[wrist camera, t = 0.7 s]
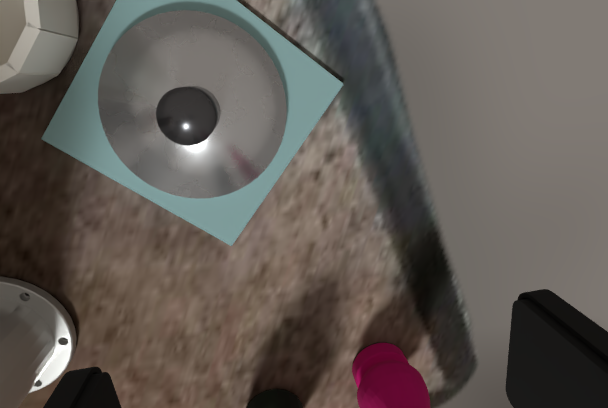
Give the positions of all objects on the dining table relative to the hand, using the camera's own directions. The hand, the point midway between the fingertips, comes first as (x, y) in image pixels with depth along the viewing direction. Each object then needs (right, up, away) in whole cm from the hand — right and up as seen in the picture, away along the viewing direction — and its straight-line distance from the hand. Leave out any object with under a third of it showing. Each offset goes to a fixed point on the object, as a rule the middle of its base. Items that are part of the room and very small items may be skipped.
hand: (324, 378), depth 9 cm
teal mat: (-9, +12, +24) cm, 28 cm away
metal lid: (-9, +12, +23) cm, 28 cm away
